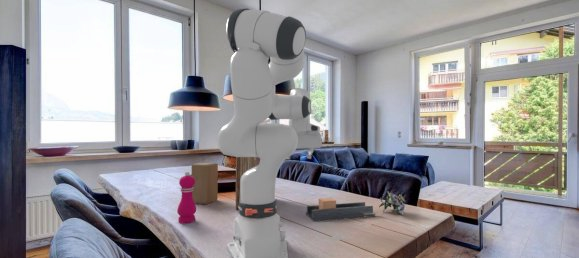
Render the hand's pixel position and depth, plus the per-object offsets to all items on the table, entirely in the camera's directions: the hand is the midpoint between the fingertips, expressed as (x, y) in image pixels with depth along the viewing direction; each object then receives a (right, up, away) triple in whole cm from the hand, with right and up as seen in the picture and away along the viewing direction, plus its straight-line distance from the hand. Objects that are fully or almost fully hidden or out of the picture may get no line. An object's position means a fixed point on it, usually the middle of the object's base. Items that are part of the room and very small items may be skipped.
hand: (298, 158), depth 114 cm
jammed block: (+12, -24, 0) cm, 27 cm away
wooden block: (-48, -25, +24) cm, 60 cm away
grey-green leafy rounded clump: (+42, -25, +4) cm, 49 cm away
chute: (+18, -25, +1) cm, 31 cm away
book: (-22, -25, +20) cm, 39 cm away
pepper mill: (-46, -25, -7) cm, 52 cm away
